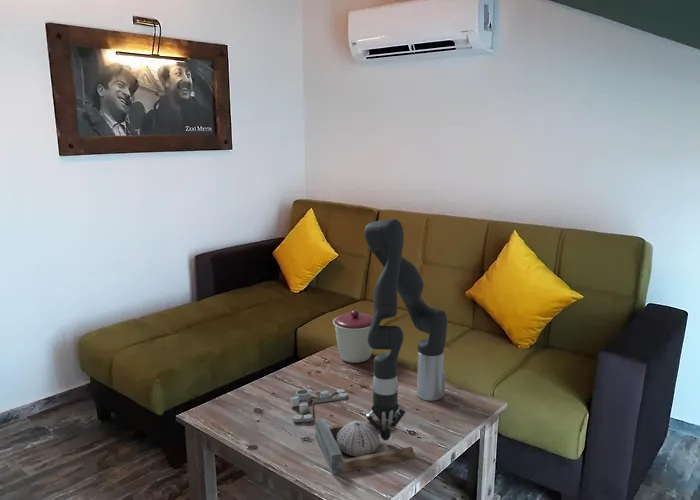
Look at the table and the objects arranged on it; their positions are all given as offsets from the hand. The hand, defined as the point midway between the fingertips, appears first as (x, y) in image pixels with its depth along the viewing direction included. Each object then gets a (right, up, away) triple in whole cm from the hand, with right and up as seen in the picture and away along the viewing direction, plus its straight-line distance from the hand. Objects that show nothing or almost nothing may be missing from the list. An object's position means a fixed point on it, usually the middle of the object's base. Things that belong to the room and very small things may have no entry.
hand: (385, 438), depth 177 cm
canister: (-9, +13, +62) cm, 64 cm away
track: (-7, -2, -2) cm, 7 cm away
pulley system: (-24, +4, +25) cm, 35 cm away
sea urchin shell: (-8, -2, -1) cm, 9 cm away
